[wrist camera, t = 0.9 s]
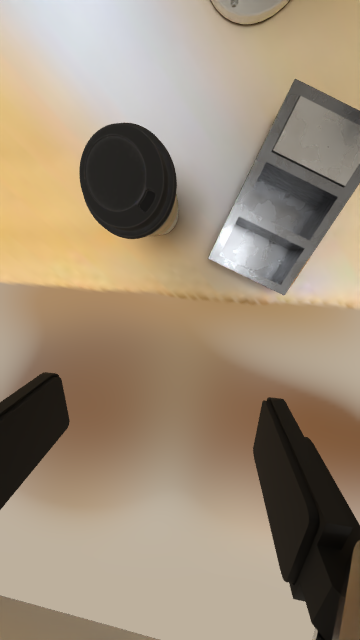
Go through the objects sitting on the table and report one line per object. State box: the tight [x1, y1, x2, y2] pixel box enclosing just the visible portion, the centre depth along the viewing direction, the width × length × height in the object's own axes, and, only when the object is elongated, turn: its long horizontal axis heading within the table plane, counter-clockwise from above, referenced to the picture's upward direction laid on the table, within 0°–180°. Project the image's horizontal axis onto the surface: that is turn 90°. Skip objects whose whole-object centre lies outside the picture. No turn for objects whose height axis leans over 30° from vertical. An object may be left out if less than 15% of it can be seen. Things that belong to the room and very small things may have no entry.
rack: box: [208, 79, 360, 295], centre depth 26 cm, size 20×12×6 cm, turn 156°
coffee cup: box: [80, 123, 178, 239], centre depth 24 cm, size 9×9×15 cm
